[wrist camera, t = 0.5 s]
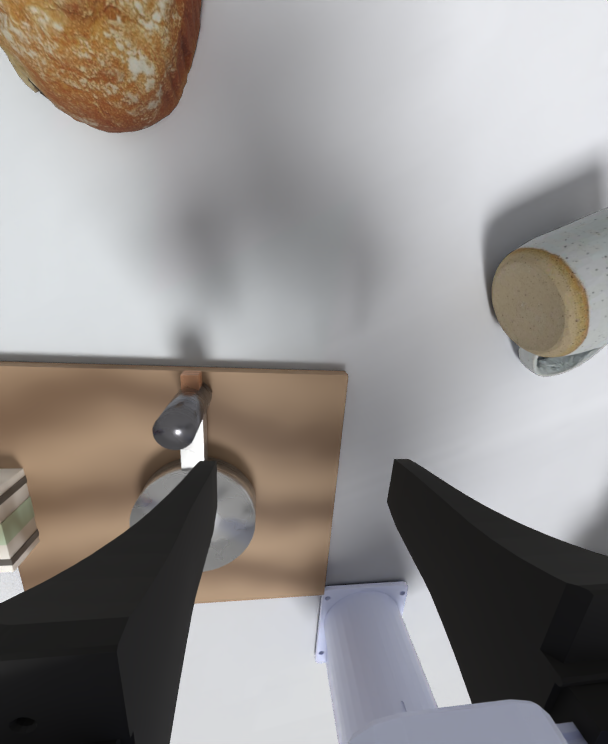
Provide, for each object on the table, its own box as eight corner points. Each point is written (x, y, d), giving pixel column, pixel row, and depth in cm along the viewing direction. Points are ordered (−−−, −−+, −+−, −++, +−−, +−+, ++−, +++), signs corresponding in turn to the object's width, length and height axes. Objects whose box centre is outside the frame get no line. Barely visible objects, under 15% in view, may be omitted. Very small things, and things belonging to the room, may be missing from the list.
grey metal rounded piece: (255, 546, 24) (252, 612, 19) (146, 550, 23) (115, 622, 18) (259, 369, 20) (257, 399, 15) (126, 366, 19) (80, 396, 14)
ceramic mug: (472, 252, 21) (585, 243, 13) (586, 202, 21) (762, 166, 13) (498, 387, 24) (599, 437, 17) (596, 345, 24) (739, 378, 17)
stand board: (322, 583, 28) (329, 625, 24) (39, 601, 25) (5, 651, 21) (344, 371, 22) (358, 387, 19) (-20, 360, 19) (-80, 378, 16)
